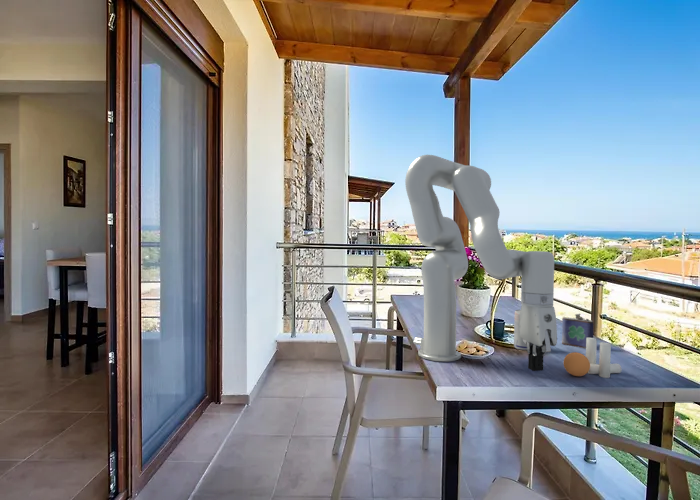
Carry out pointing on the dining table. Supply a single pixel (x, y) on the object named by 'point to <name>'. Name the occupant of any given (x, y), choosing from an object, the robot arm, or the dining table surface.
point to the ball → (576, 364)
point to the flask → (576, 331)
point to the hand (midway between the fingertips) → (535, 369)
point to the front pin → (613, 368)
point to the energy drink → (518, 333)
